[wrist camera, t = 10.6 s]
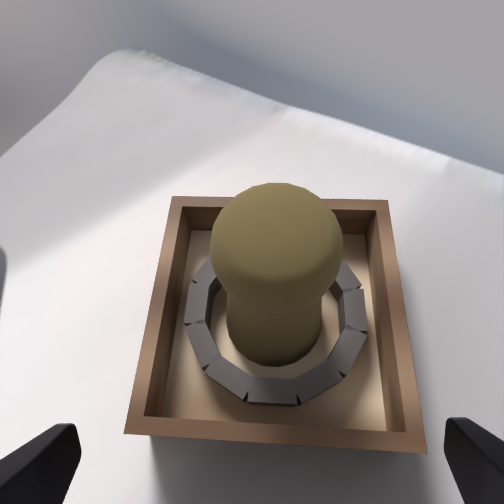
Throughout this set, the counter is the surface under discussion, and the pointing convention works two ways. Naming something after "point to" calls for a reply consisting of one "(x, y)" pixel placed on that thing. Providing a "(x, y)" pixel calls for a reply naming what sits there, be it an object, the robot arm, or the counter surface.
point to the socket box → (286, 377)
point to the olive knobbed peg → (275, 269)
